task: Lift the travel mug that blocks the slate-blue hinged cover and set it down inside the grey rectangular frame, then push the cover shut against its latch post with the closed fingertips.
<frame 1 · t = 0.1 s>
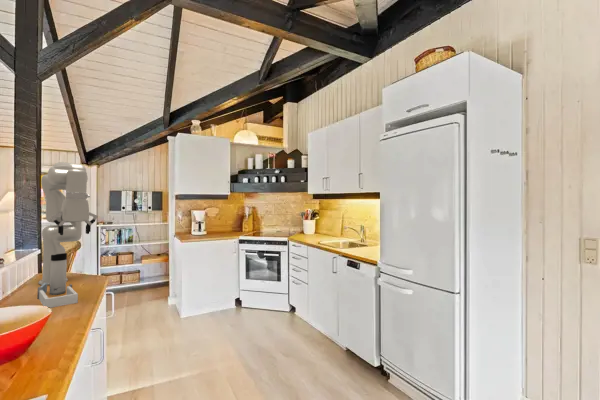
hand: (74, 234, 137), 31 cm above the counter, tool pointing down, fingers open, 9 cm apart
cover gate: (42, 290, 145), point 3 cm above the counter, hinge at 70.0°
grey rectangular frame: (57, 300, 139), on the counter
travel mug: (57, 293, 149), on the counter
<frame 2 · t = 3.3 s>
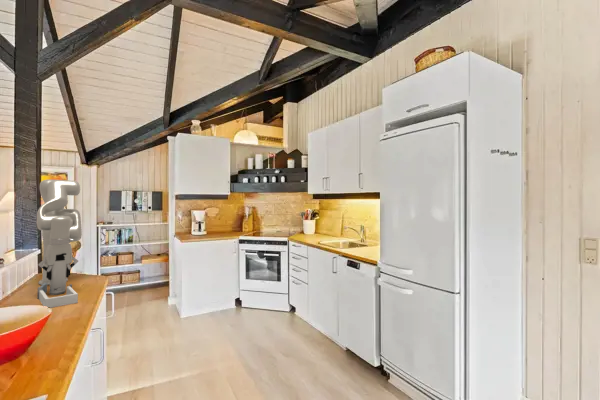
hand: (58, 277, 149), 8 cm above the counter, tool pointing down, fingers closed on travel mug, 6 cm apart
travel mug: (57, 293, 149), on the counter, touching gripper
everything else where it was.
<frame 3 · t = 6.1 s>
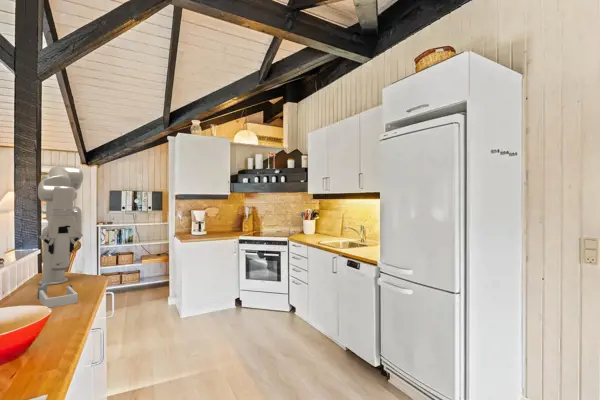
hand: (61, 252, 137), 23 cm above the counter, tool pointing down, fingers closed on travel mug, 6 cm apart
travel mug: (60, 269, 137), point 15 cm above the counter, touching gripper
everything else where it was.
when the fingers open (9 cm above the counter, at t = 9.0 s): travel mug drops 1 cm, resting in grey rectangular frame.
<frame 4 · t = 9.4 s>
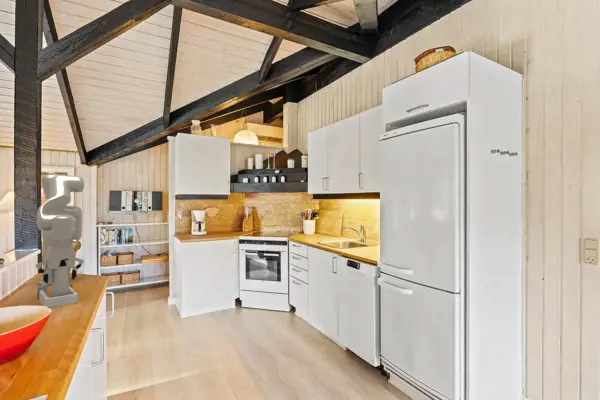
hand: (60, 280, 137), 10 cm above the counter, tool pointing down, fingers open, 9 cm apart
travel mug: (59, 302, 137), resting in grey rectangular frame
everything else where it was.
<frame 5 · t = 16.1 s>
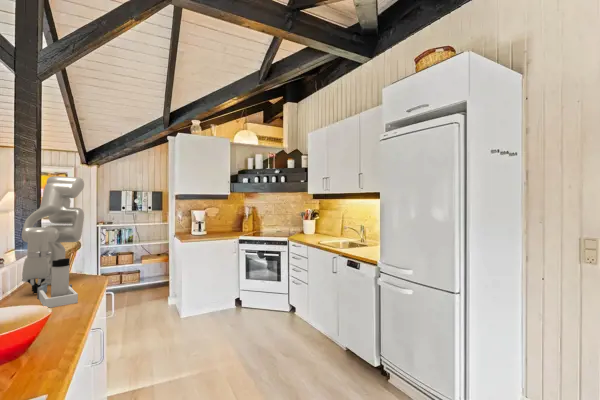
hand: (36, 292, 145), 1 cm above the counter, tool pointing down, fingers closed
cover gate: (42, 290, 145), point 3 cm above the counter, hinge at 69.5°, touching gripper
everything else where it was.
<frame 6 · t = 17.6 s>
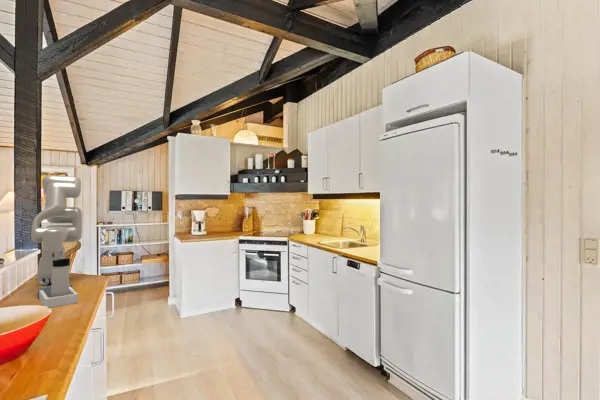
hand: (50, 291, 147), 1 cm above the counter, tool pointing down, fingers closed
cover gate: (51, 290, 145), point 3 cm above the counter, hinge at 18.7°, touching gripper
everything else where it was.
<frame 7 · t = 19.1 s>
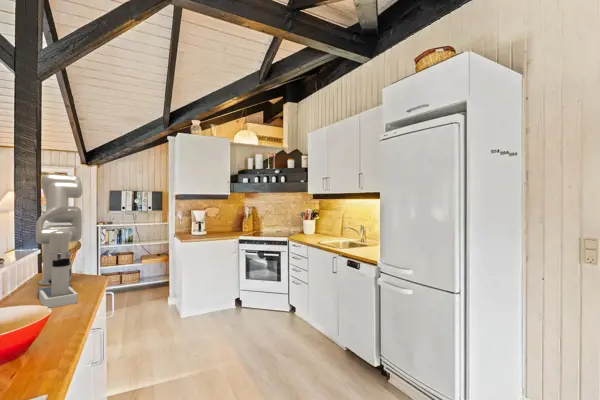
hand: (57, 293, 147), 1 cm above the counter, tool pointing down, fingers closed
cover gate: (52, 291, 144), point 3 cm above the counter, hinge at -2.0°, touching gripper
everything else where it was.
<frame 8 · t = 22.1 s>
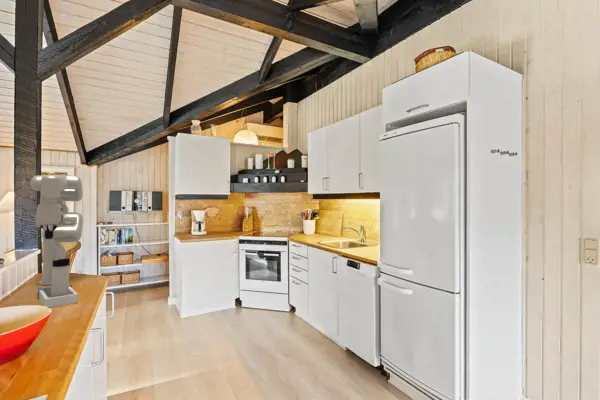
hand: (48, 238, 147), 27 cm above the counter, tool pointing down, fingers closed
cover gate: (52, 291, 144), point 3 cm above the counter, hinge at -2.0°
everything else where it was.
at the end: travel mug inside the target area on the grey rectangular frame (2.8 cm from its centre), point 0.0 cm above the grey rectangular frame's base; travel mug tilted 0°; cover gate at -2° (first picture: +70°) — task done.
